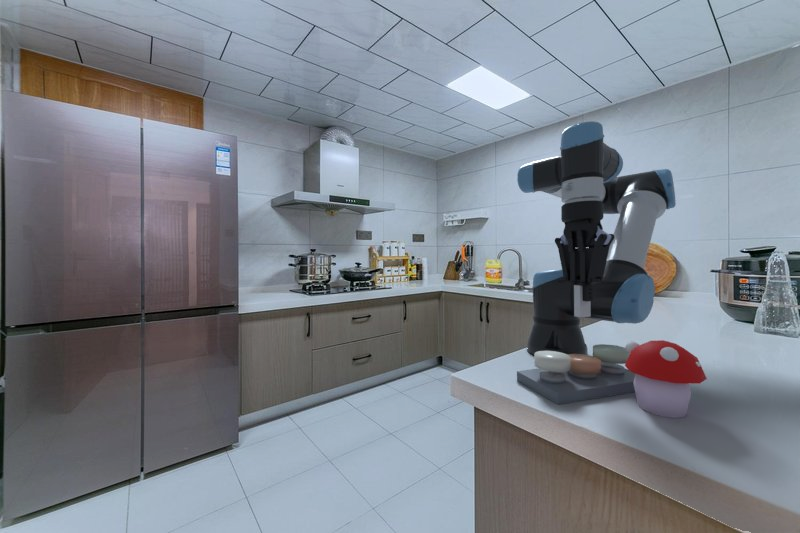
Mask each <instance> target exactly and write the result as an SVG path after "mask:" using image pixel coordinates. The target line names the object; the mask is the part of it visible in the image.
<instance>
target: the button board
mask: <svg viewBox="0 0 800 533" xmlns="http://www.w3.org/2000/svg"><path fill="white" fill-rule="evenodd" d="M635 375H636V373H633V372H630V371H629V370H628V369H627V368H626V367H624V366H623V365H622V364H614V363H607V362H603V361H601V373H600V374H596V375H586V374H579V373H575V372H571V371H566V372H551V371H546V370H542V369H539V368H533V369H523V370H517V371H516V382H517V381H518V382H519V383H520V384H522V385H524V386H526V387H528V388H529V389H531V390H533V391H534V392H536V393H538V394H539V395H541V396H543V397H544V398H546V399H548V400H550V401H551V402H553V403H554V404H556V405H563V404H569V403H575V402H580V401H587V400H592V399H599V398H605V397H611V396H616V395H622V394H623V395H624V394H629V393H633V392H634V393H635V388H634V383H633V382H634V378H635Z"/></svg>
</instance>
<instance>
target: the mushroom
mask: <svg viewBox="0 0 800 533" xmlns="http://www.w3.org/2000/svg"><path fill="white" fill-rule="evenodd" d="M624 348H626V350H627V351H628V352H629V353H630V355H629V357H628V359H627V361H626V364H624V366H625V368H626V369H628V370H629V371H630V372H633V373H636V375H635V378H634V382H633V383H634V388H635V392H634V393H635V397H636V402H637V406H638V407H639V408H641V409H642V410H643V411H646V412H647V413H650V414H652V415H653V414H654V415H656V416H660V417H665V418H671V419H673V418H675V419H679V418H680V419H681V418H684V417H686V415H687V413H688V408H689V406H690V400H691V396H692V392H691V391H692V390H691V387H690V384H696V385H698V384H702V383H703V382H704V381H705V380H707V377H706V373H705V371H704V370H703V367H702V365H701V363H700V360H699V358H698V357H697V356H695V354H694V353H691V352H690V351H688V350H687V349H686V348H684V347H683V346H680V345H679V344H677V343H674V342H671V341H667V340H664V339H662V340H649V341H647V342H644V343H642V344H639V343H638V342H636V341H629V342H626V344H625V347H624Z"/></svg>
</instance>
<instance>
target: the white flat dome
mask: <svg viewBox="0 0 800 533" xmlns="http://www.w3.org/2000/svg"><path fill="white" fill-rule="evenodd" d="M533 356H534V359H533V360H534V366H535V367H536V369H538V368H539V369H542V370H546V371H551V372H566V371H569V370H570V369H571V357H570V356H569V355H567V354H565V353H561V352H556V351H538V352H535V353H534V355H533Z"/></svg>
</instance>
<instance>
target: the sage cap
mask: <svg viewBox="0 0 800 533" xmlns="http://www.w3.org/2000/svg"><path fill="white" fill-rule="evenodd" d="M629 355H630V353H629V352H628V351H627V350H626V347H623V346H620V345H614V344H601V343H600V344H594V345H593V346H592V356H594V357H597V358H599V359H600V360H601V361H603V362H607V363H614V364H618V365H623V364H624V365H625V364H626V361H627V359H628V357H629Z"/></svg>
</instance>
